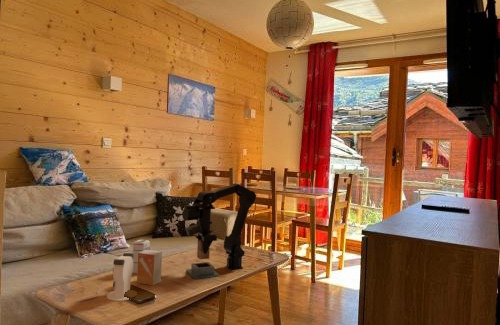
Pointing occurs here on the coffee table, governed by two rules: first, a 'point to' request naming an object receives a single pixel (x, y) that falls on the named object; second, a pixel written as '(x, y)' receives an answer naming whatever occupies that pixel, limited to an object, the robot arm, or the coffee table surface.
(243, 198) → the robot arm
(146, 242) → the syrup box
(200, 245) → the peg
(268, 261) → the coffee table surface
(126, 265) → the white piece
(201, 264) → the socket
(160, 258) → the small box
